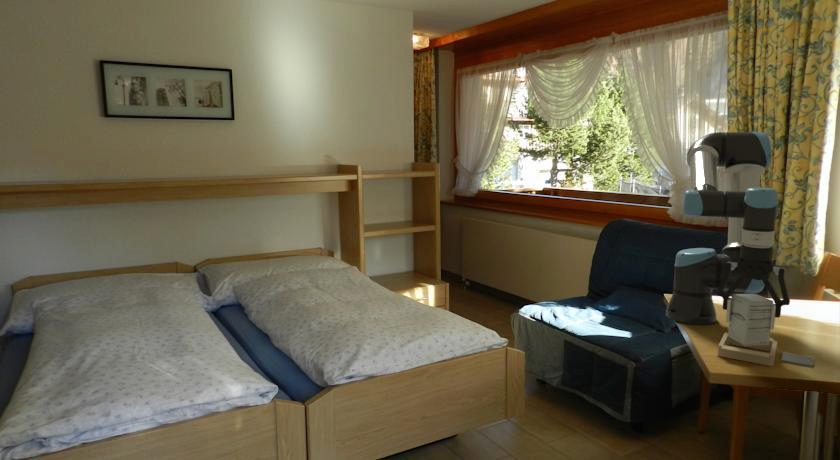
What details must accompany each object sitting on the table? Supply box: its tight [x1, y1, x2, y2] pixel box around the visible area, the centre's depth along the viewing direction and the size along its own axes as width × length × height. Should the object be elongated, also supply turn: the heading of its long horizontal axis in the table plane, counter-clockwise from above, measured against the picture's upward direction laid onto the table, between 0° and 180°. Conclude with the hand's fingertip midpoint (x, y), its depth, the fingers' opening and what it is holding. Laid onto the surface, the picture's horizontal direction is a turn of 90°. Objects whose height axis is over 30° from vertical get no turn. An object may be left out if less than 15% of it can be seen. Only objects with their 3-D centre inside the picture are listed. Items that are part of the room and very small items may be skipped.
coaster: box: [780, 351, 814, 368], centre depth 152 cm, size 7×7×1 cm
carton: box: [717, 331, 778, 367], centre depth 157 cm, size 13×17×3 cm
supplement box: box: [727, 293, 774, 346], centre depth 156 cm, size 7×7×13 cm
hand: (749, 324), depth 156 cm, fingers closed on supplement box, 10 cm apart
